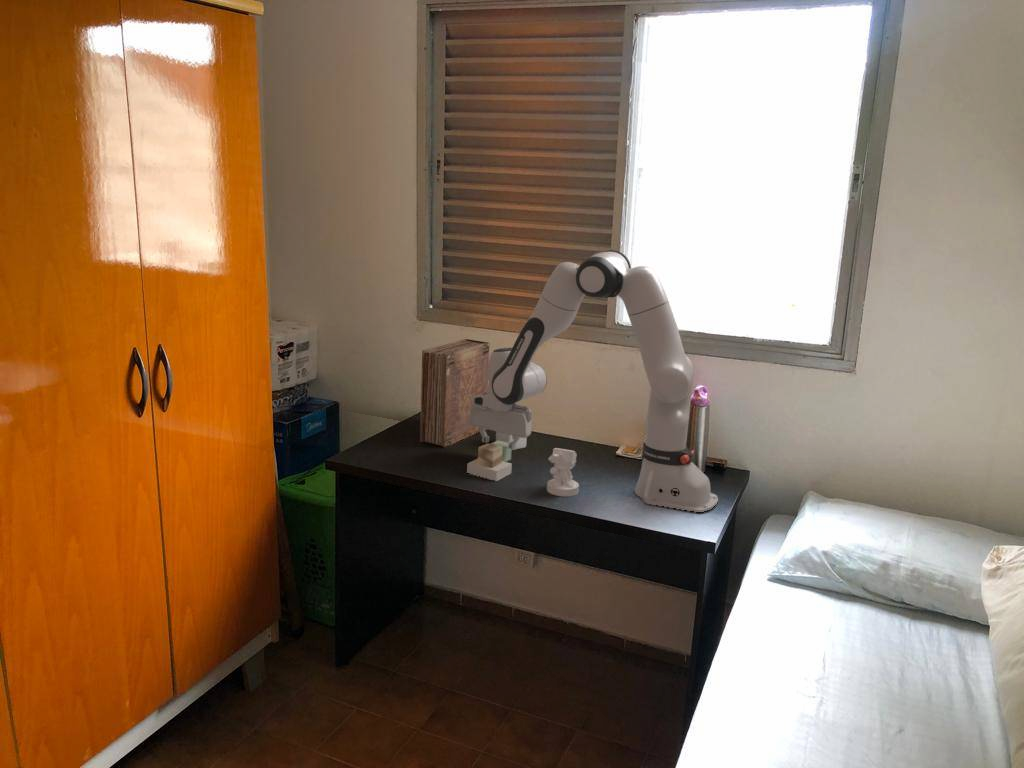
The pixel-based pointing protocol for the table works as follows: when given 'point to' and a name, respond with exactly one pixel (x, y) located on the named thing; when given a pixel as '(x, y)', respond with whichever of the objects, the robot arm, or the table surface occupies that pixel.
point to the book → (451, 389)
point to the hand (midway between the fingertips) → (498, 445)
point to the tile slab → (489, 470)
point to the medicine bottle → (511, 440)
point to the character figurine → (562, 473)
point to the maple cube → (490, 455)
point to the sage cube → (504, 450)
